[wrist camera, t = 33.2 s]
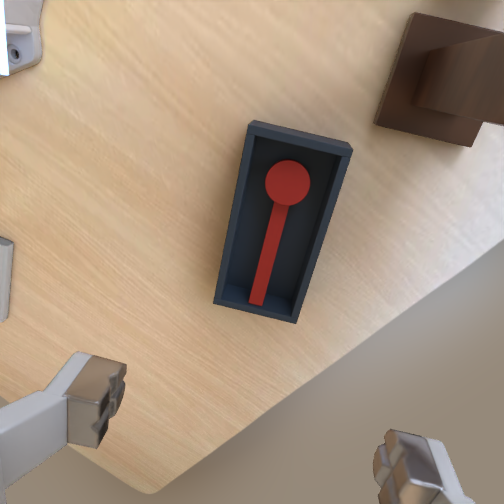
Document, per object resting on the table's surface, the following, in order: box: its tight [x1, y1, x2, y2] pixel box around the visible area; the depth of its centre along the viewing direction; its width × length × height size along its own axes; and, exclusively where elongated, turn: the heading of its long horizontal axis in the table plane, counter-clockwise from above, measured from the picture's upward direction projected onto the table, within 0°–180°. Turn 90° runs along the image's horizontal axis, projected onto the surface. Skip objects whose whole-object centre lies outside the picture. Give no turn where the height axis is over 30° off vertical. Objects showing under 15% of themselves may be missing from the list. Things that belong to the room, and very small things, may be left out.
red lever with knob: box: [248, 159, 310, 306], centre depth 38 cm, size 16×4×2 cm, turn 167°
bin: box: [213, 120, 353, 324], centre depth 39 cm, size 20×10×4 cm, turn 168°
